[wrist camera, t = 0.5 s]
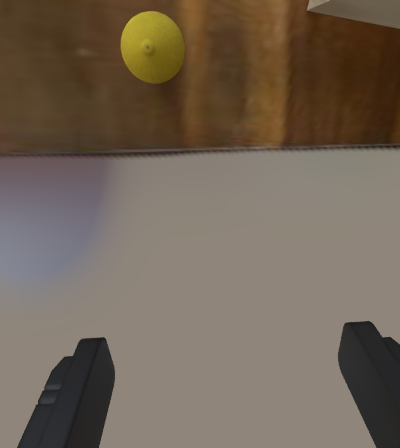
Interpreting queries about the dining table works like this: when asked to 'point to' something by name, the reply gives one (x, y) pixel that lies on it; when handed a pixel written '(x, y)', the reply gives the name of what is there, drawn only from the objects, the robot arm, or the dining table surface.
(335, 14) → the small bedside cabinet
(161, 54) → the lemon
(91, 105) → the dining table surface
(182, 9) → the dining table surface
